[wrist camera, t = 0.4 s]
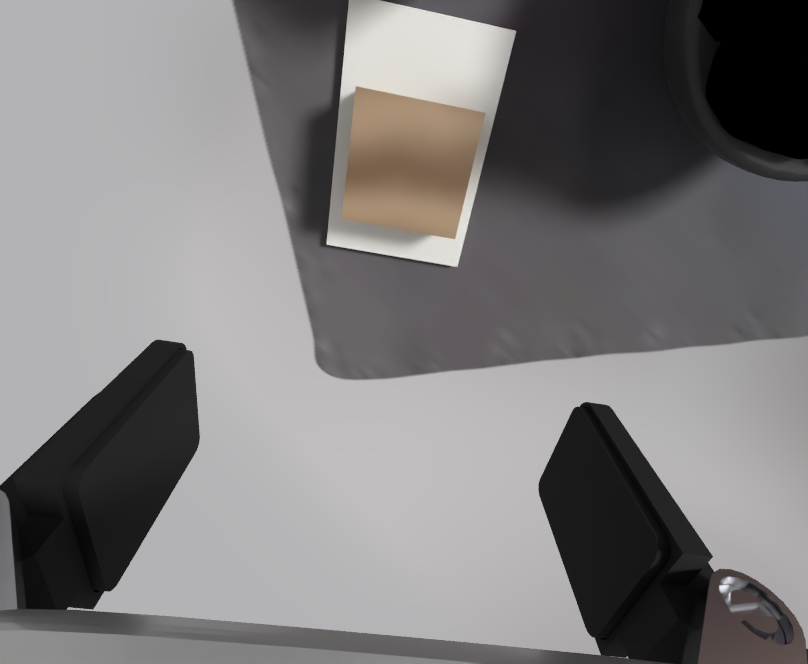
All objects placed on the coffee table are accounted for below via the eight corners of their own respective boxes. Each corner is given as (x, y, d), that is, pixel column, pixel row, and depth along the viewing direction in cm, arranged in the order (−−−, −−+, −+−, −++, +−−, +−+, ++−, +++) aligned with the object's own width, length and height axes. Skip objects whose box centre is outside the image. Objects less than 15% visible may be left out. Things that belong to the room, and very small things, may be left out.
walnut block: (361, 88, 32) (355, 86, 28) (476, 112, 32) (485, 112, 29) (347, 208, 36) (341, 219, 32) (450, 226, 37) (455, 239, 33)
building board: (350, -4, 30) (349, -7, 29) (513, 32, 31) (516, 30, 30) (327, 242, 38) (326, 244, 37) (456, 264, 39) (457, 266, 38)
